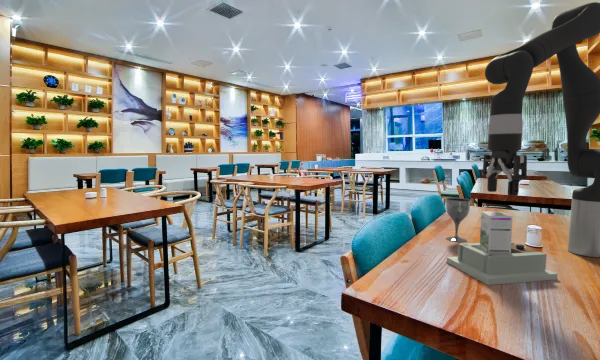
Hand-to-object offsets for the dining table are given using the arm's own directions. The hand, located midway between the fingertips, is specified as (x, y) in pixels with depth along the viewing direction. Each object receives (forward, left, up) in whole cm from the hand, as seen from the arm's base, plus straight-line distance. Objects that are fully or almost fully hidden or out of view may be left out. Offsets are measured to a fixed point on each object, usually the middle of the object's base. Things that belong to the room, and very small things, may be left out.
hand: (501, 193), depth 85 cm
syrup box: (+2, +1, -20) cm, 20 cm away
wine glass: (-8, -29, -21) cm, 37 cm away
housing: (+1, 0, -21) cm, 21 cm away
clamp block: (-6, 0, -19) cm, 20 cm away
